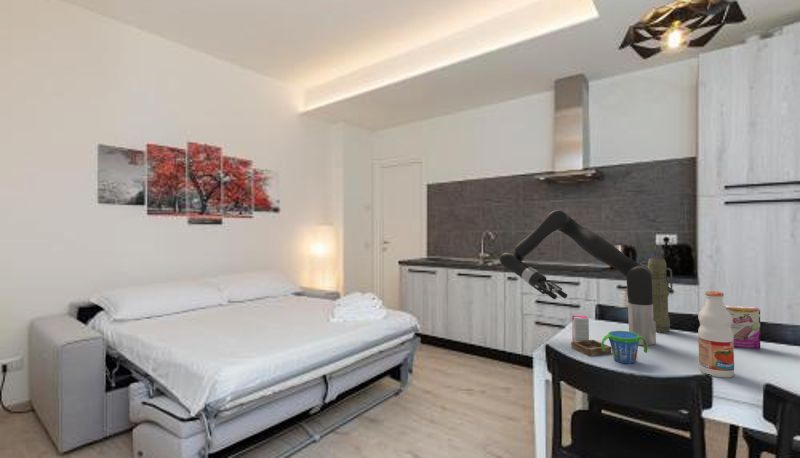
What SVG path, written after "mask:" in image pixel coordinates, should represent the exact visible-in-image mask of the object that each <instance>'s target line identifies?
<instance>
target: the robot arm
mask: <svg viewBox="0 0 800 458" xmlns="http://www.w3.org/2000/svg"><path fill="white" fill-rule="evenodd" d="M556 231H559V232H561V233H562V234H565V235H566V236H568V238H571V239H572V240H573V241H574V242H575V243H576V244H577V245H578V246H579V247H581V249H583V251H584V252H586V253H587V254H589V255H591V257H593V258H594V259H596V260H598V261H600V262H602V263H604V264H606V265H608V266H610V267H612V268H614V269H616V270H617V271H619V272H620V274H621V275H623V276H624V277H625V278H626V291H627V292H626V294H627V295H626V296H627V308H628V309H627V310H628V313H627V316H628V332H633V333H636V334H638V335H639V336H641V337H642V338H644V339H645V341H646V343H647V346H653V345H655V344H657V332H656V322H655V321H653V295H652V273H651V271H650V270H649V269H648V268H646V266H645V265H642V264H640V263H638V262H637V261H635V260H634V259H632V258H629V257H628V256H626V255H625V254H624V253H623V252H622V251H620V250H619V249H618V247H615V246H614V245H613V244H612V243H610V242H609V241H608V240H606V239H605V238H603V237H601V236H600V235H599V234H597V233H595V232H593V231H592V230H590V229H588V228H586V227H584V226H582V225H580V223H578V222H577V221H575V220H574V219H573V218H572V217H571V216H570V215H569V214H568V213H566V211H563V210H561V209H556V210H555V209H554V210H553V211H551V212H549V214H548V215H547V216H546V218H545V219H544V220H543V221H542V222H541V223H540V224H539V225H538V226H537V228H535V229H534V230H533V231H531V233H530V234H528V235H527V236H526V237H525V238H523V239H522V240H521V241H520V242H518V244H516V245H515V246H514V252H513V253H510V252H503V253H502V254H500V257H499V262H500V264H501V265H502V266H503V267H505V268H506V269H508V270H509V271H511V272H513V273H514V274H516V276H518V277H519V278H521V279H522V280H523V281H524V282H525V283H527V284H528V285H529V286H531V287H532V288H534V289H535V290H537V291H538V292H539V293H541V294H542V295H545V296H548V297H550V298H551V299H552V300H556V299H557V297H558V295H559V297H562V298H563V299H567V298H568V294H567V292H564V291H563V288H562V287H561V286H559V285H558V284H556V283H555V282H552V281H551V282H549V281H547V276H546V275H544V274H542V273H541V272H540V271H538V270H537V269H535V268H533V267H532V266H530V265H529V264H527V263H525V262H523V260H524V259H525V258H526V256H528V255H529V254H530V253H532V252H533V251H534V250H535V249H536V248H537V247H538V246H539V245H540V244H541V243H542V242H543V241H544V239H546V238H547V237H548V236H549V235H552V233H554V232H556ZM638 346H644V342H643V340H642V339H640V340H639V343H638Z"/></svg>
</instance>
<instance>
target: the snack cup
mask: <svg viewBox="0 0 800 458" xmlns="http://www.w3.org/2000/svg"><path fill="white" fill-rule="evenodd" d="M607 339H608V340H609V343H610V347H611V354H612V357H613V360H614V361H616V362H619V363H621V364H634V363H636V361H637V357H638V352H639V351H638V349H639V345H638V343H639V340H640V339H642V340H643V342H644V345H643V353H646V354H647V352H648V350H649V349H648V345H647V343H646V341H645V339H644V338H642V337H641V336H639V335H638V334H636V333H633V332H629V331H627V330H626V331H624V330H612V331H609V332H608V333H607V334H606V335H604V336H603V338H602V340H601V342H600V343H601V347H602V350H603V351H604V352H605V350H604V344H605V341H606V340H607Z"/></svg>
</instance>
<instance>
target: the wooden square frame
mask: <svg viewBox="0 0 800 458" xmlns="http://www.w3.org/2000/svg"><path fill="white" fill-rule="evenodd" d="M601 343H602V342H600V341H598V340H595V339H589V340H585V341H575V342H573V341H571V343H570V345H571V349H573V350H576V351H577V352H579V353H582V354H583V355H586V356H588V357H589V356H597V355H606V354H607V355H608V354H612V349H611V345H610V346H609V345H607V344H605V343H604V350H605V352H604V351H603V350H602V347H601Z"/></svg>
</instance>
